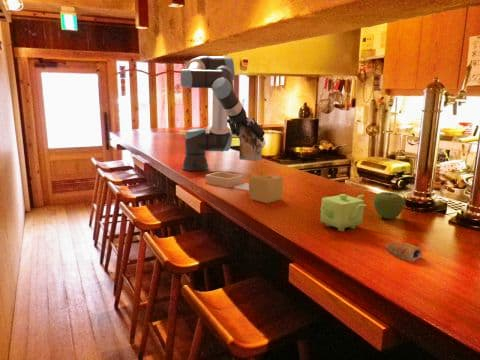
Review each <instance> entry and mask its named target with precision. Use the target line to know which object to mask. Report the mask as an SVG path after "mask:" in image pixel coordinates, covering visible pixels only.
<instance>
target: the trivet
mask: <svg viewBox="0 0 480 360" xmlns="http://www.w3.org/2000/svg"><path fill="white" fill-rule="evenodd" d="M232 188H233V189H236V190H241V191H245V192H249V182H246V183H245V182H244V183H243V184H239V185H236V186H232Z"/></svg>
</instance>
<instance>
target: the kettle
mask: <svg viewBox="0 0 480 360" xmlns="http://www.w3.org/2000/svg"><path fill="white" fill-rule="evenodd" d="M364 196H365V195H364V194H359V195H357V197H354V196H351V195H348V194H347V193H346V194H345V193H341V194H338V195H333V196H332V195H331V196H326V197H325V196H324V197H322V198H321V206H320V207H321V208H319V209H320V223H321V222H322V223H325V226H326V227H333V228H337V231H338V232H345V231H346V230H345V229H346V228H350V229H356V228H357V227H356V226H359V225H362V224H363V220H364V210H365V207H367V205H366V204H365V200H363V199H362V198H363V197H364Z"/></svg>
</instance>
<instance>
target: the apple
mask: <svg viewBox="0 0 480 360" xmlns="http://www.w3.org/2000/svg"><path fill="white" fill-rule="evenodd" d="M372 202H373V206H374V208H375V211H376V213H377V215H379V216H380V217H381V218H383V219H384V220H385V219H386V220H394V219H396V218H397V217H399V216H400V214H401V213H402V211H403V210H404V208H405V206H406V204H407V203H406V200H405V198H404V197H403V196H402V195H399V193H397V192H396V193H395V192H391V191H390V192H388V191H387V192H385V191H380V192H379V193H377V194H376V195H375V196H374V198H373V201H372Z"/></svg>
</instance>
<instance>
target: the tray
mask: <svg viewBox="0 0 480 360" xmlns="http://www.w3.org/2000/svg"><path fill="white" fill-rule="evenodd" d="M204 180H205V181H204V182H205V184H211V185H214V186H219V187H224V188H231V187H232V188H233V187H234V186H238V185H241V184H244V175H242V174H237V173H236V174H235V173H231V172H225V171H217V172H212V173H209V174H205V179H204Z"/></svg>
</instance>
